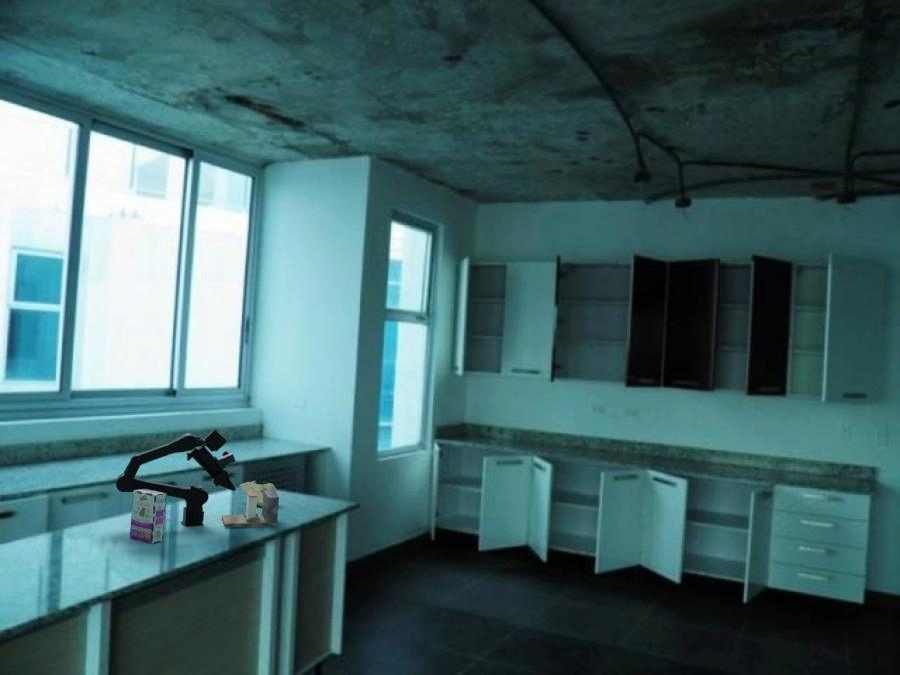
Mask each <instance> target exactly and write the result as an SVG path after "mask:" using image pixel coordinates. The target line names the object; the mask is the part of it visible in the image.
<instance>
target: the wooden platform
mask: <svg viewBox="0 0 900 675" xmlns="http://www.w3.org/2000/svg"><path fill="white" fill-rule="evenodd" d="M279 502H280V496H279V495H278V494H276V493H275V491H274V490H264V491H263V504H262V506H261V514H259V513H258V512H256V518H246V512H244V514H229V515H227V514H224V515H221V521H223V522H222V525H223V524H224V525H223V527H240V528H259V527H258V526H277V527H278V516H279ZM253 526H254V527H253Z"/></svg>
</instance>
